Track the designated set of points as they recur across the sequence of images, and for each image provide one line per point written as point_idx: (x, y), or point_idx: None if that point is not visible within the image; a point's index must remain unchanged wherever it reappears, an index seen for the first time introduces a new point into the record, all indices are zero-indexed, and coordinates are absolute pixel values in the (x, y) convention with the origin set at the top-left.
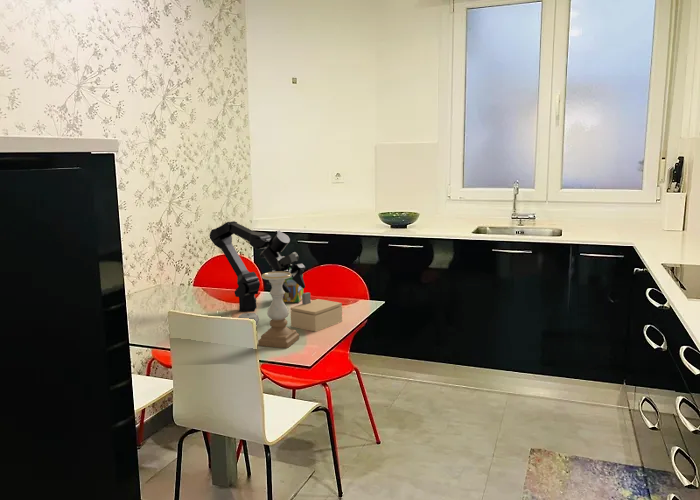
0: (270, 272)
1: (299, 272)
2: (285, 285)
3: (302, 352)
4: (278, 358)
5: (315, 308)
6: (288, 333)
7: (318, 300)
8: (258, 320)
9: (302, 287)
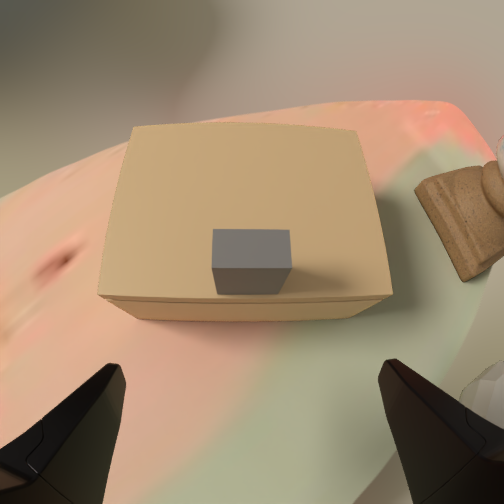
0: None
1: (3, 495)
2: (438, 400)
3: (449, 133)
4: (493, 158)
5: (307, 160)
6: (471, 170)
7: (131, 262)
8: (481, 377)
9: (122, 399)
